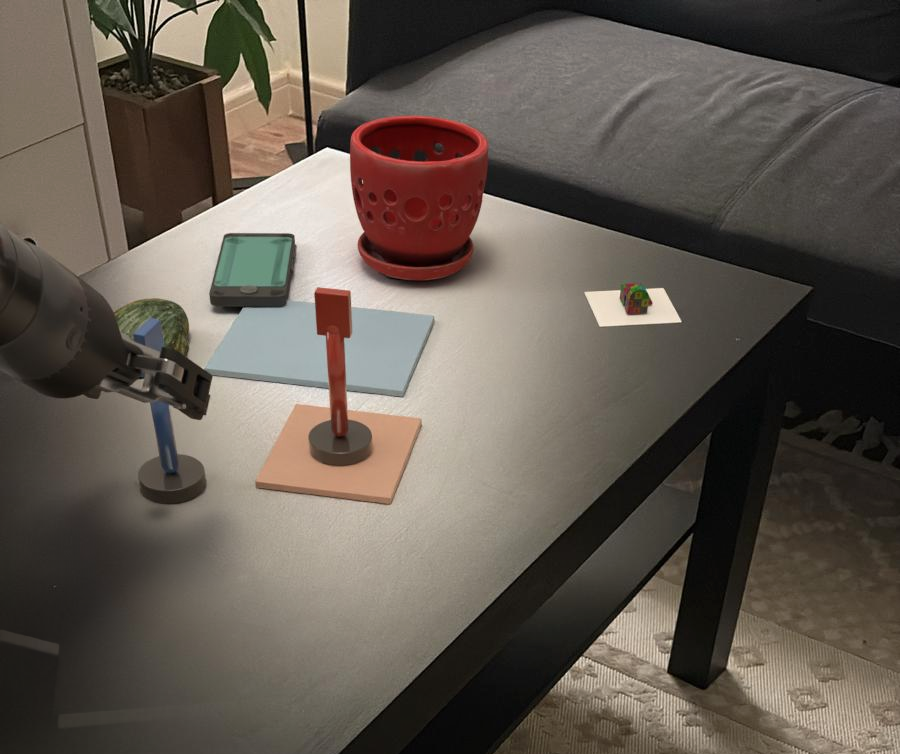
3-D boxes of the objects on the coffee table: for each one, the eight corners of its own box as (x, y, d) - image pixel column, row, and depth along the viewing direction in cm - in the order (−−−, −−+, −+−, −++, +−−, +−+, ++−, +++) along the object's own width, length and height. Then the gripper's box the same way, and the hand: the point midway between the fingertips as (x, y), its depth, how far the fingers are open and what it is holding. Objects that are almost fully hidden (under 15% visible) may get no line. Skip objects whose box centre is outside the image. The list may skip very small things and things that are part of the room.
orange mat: (255, 487, 102) (254, 481, 101) (296, 409, 110) (295, 403, 109) (390, 504, 101) (390, 498, 100) (421, 424, 109) (421, 418, 108)
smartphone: (208, 293, 120) (224, 230, 130) (209, 307, 121) (225, 243, 131) (287, 294, 120) (296, 231, 131) (288, 307, 121) (297, 243, 132)
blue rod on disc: (187, 509, 100) (162, 349, 90) (128, 496, 101) (96, 336, 91) (217, 473, 103) (195, 316, 93) (159, 461, 104) (131, 304, 94)
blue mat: (204, 374, 114) (204, 368, 113) (250, 301, 123) (250, 295, 123) (402, 397, 112) (402, 390, 111) (434, 321, 121) (434, 315, 120)
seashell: (59, 297, 114) (162, 270, 118) (67, 339, 117) (167, 311, 121) (107, 352, 109) (213, 323, 113) (114, 395, 112) (216, 364, 116)
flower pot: (457, 301, 124) (459, 172, 115) (333, 277, 127) (326, 149, 118) (501, 246, 132) (507, 122, 123) (384, 224, 135) (381, 102, 126)
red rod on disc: (301, 462, 103) (288, 303, 94) (318, 428, 107) (307, 271, 97) (364, 469, 103) (358, 310, 93) (379, 435, 106) (374, 278, 96)
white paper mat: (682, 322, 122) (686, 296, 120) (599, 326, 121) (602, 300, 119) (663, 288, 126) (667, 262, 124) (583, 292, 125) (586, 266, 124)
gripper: (147, 275, 77) (248, 362, 93) (-56, 239, 80) (75, 329, 96) (119, 398, 78) (224, 464, 94) (-82, 357, 81) (53, 427, 97)
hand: (148, 395), depth 95 cm, fingers open, 8 cm apart
